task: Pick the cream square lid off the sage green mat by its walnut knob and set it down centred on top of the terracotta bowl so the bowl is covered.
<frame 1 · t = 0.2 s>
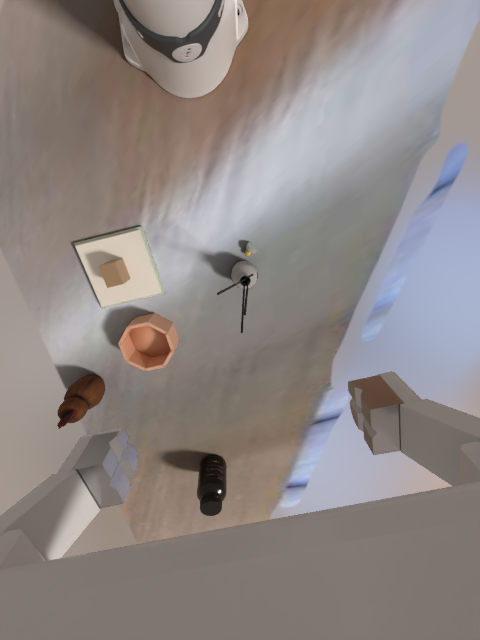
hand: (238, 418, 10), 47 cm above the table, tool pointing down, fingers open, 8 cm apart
reed diffuser: (239, 267, 56), on the table
supplement bottle: (213, 463, 75), on the table
lid: (120, 269, 55), point 1 cm above the table, touching mat
wooden figurine: (94, 381, 65), on the table
mat: (121, 268, 55), on the table
bowl: (153, 336, 61), on the table
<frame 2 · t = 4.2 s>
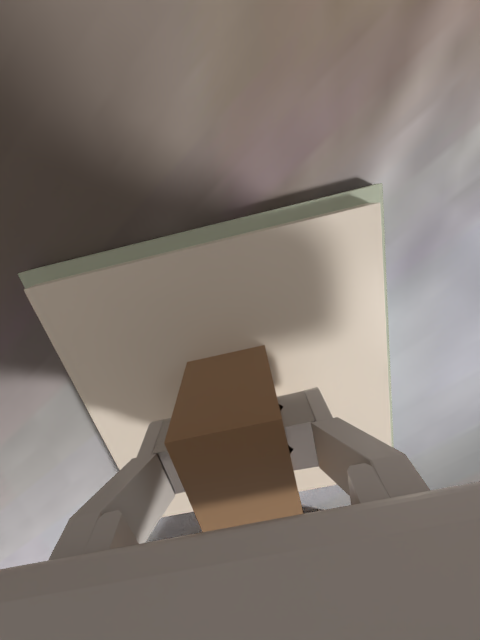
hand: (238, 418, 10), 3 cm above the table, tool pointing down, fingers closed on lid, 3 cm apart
lid: (237, 384, 12), point 1 cm above the table, touching gripper, mat
mat: (236, 377, 13), on the table
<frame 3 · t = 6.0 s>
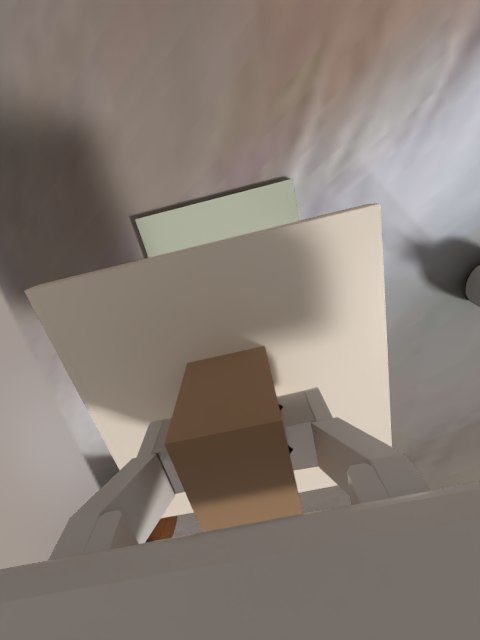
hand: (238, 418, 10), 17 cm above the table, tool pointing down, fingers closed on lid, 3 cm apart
reed diffuser: (476, 271, 27), on the table
lid: (237, 385, 12), point 15 cm above the table, touching gripper
wooden figurine: (154, 480, 35), on the table
mat: (232, 275, 26), on the table
when the fingers open (8 cm above the table, at t = 8.2 s): lid drops 1 cm, resting on bowl.
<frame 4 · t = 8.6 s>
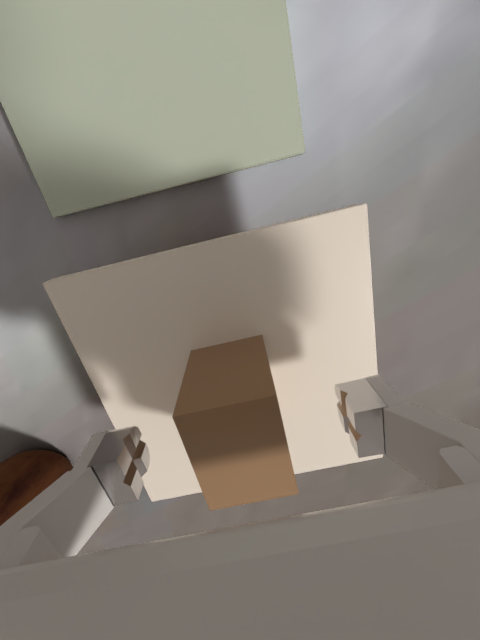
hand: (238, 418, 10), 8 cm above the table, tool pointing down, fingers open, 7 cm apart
lid: (237, 373, 13), point 5 cm above the table, touching bowl
wooden figurine: (47, 465, 22), on the table
mat: (131, 24, 12), on the table
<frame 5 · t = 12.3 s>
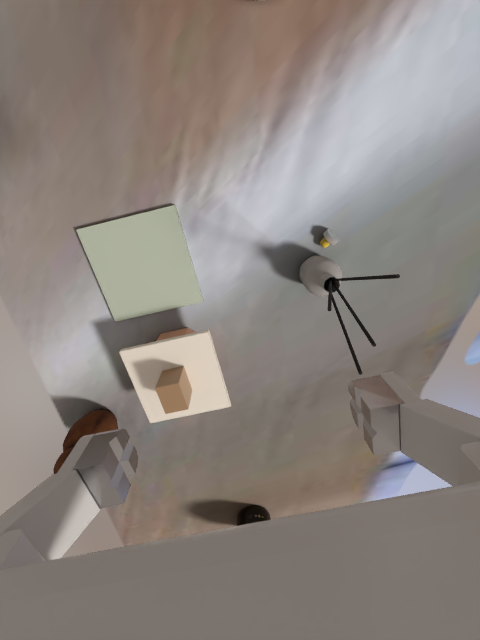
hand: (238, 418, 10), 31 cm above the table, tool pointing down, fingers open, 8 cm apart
reed diffuser: (308, 265, 40), on the table
supplement bottle: (253, 514, 59), on the table
lid: (178, 377, 40), point 5 cm above the table, touching bowl
wooden figurine: (103, 417, 49), on the table
mat: (144, 266, 39), on the table
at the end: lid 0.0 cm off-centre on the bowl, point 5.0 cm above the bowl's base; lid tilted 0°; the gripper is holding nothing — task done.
